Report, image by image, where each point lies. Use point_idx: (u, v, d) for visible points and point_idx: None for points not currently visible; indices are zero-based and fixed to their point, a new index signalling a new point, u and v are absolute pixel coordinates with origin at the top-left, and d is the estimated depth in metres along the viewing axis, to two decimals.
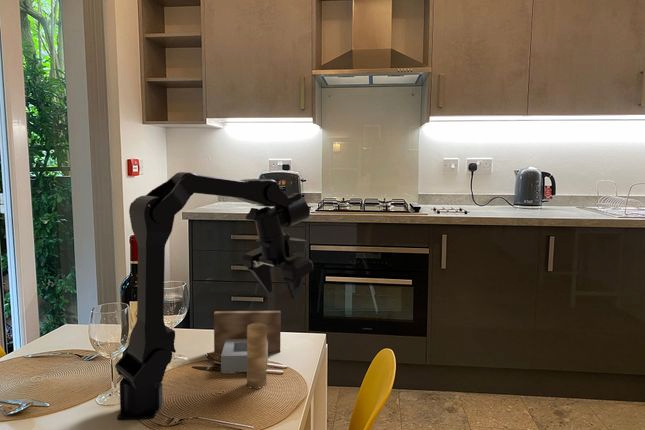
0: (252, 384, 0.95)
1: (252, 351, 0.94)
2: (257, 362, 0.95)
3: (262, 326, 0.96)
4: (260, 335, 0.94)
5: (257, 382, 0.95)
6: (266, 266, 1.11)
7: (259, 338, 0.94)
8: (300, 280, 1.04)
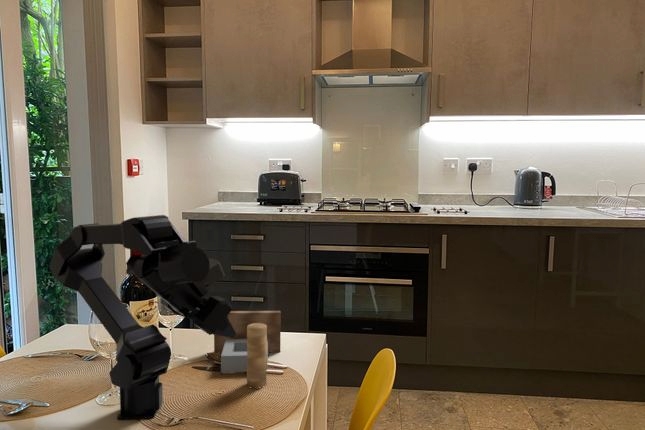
0: (252, 384, 0.95)
1: (252, 351, 0.94)
2: (257, 362, 0.95)
3: (262, 326, 0.96)
4: (260, 335, 0.94)
5: (257, 382, 0.95)
6: None
7: (259, 338, 0.94)
8: (226, 319, 0.84)
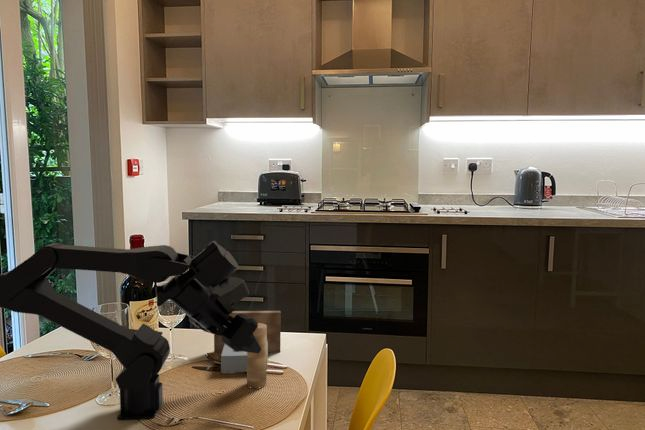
0: (252, 384, 0.95)
1: None
2: (257, 362, 0.95)
3: (262, 326, 0.96)
4: (260, 335, 0.94)
5: (257, 382, 0.95)
6: None
7: (259, 338, 0.94)
8: (251, 336, 0.87)
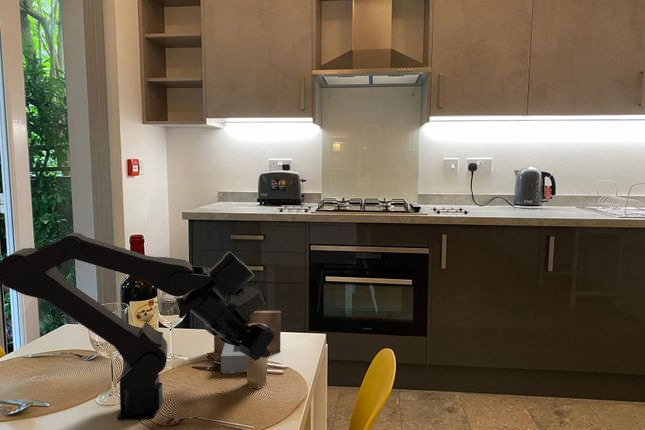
0: (252, 384, 0.95)
1: None
2: (257, 362, 0.95)
3: None
4: None
5: (257, 382, 0.95)
6: None
7: None
8: None
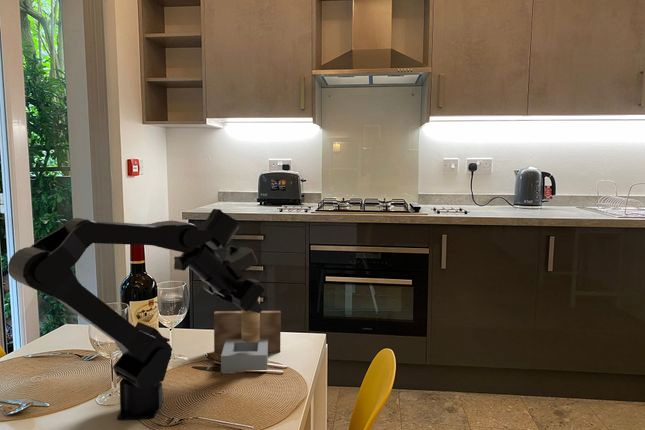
0: (246, 338, 1.01)
1: None
2: (251, 317, 1.01)
3: None
4: None
5: (250, 336, 1.01)
6: None
7: None
8: None
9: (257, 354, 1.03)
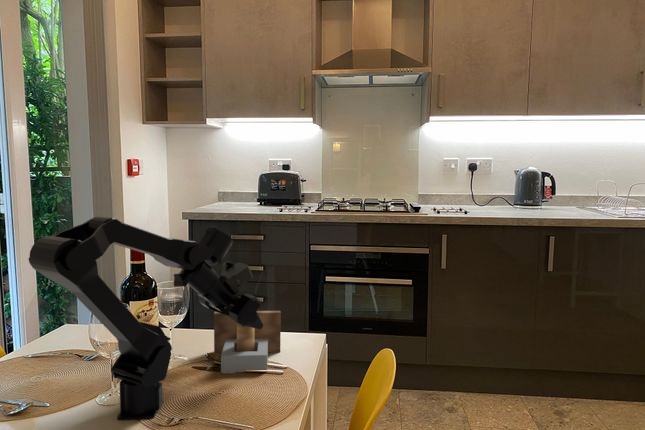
0: None
1: (241, 333, 1.04)
2: (246, 343, 1.05)
3: None
4: None
5: None
6: None
7: None
8: (255, 313, 1.00)
9: (257, 354, 1.03)
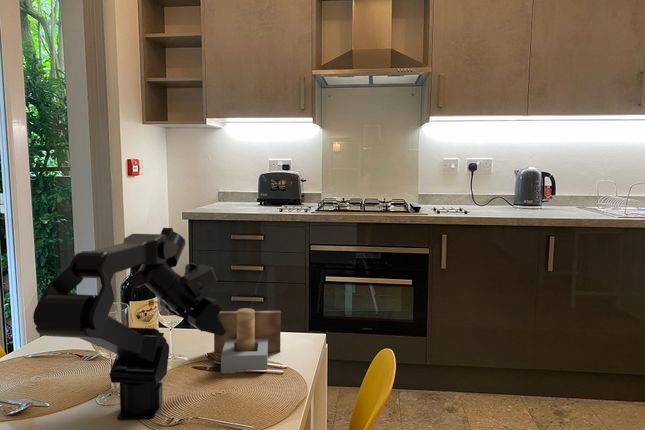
0: None
1: (241, 333, 1.04)
2: (246, 343, 1.05)
3: (250, 311, 1.06)
4: (249, 318, 1.04)
5: None
6: None
7: (248, 321, 1.04)
8: (216, 318, 0.95)
9: (257, 354, 1.03)
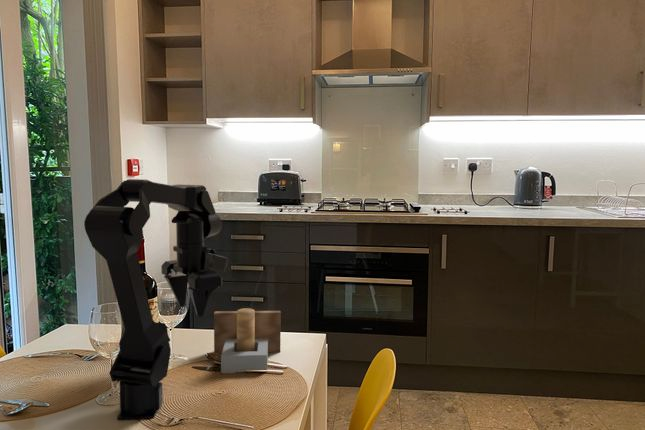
0: None
1: (241, 333, 1.04)
2: (246, 343, 1.05)
3: (250, 311, 1.06)
4: (249, 318, 1.04)
5: None
6: (184, 278, 1.07)
7: (248, 321, 1.04)
8: (207, 295, 0.99)
9: (257, 354, 1.03)
